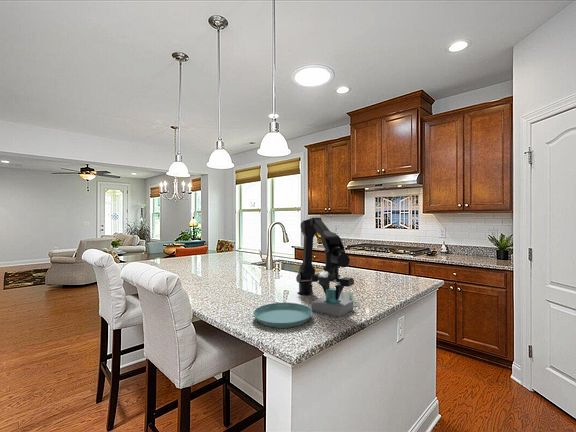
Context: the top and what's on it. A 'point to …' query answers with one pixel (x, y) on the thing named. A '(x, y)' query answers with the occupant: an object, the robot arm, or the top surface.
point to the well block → (332, 307)
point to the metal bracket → (348, 297)
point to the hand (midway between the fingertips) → (332, 299)
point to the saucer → (282, 314)
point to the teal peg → (331, 296)
